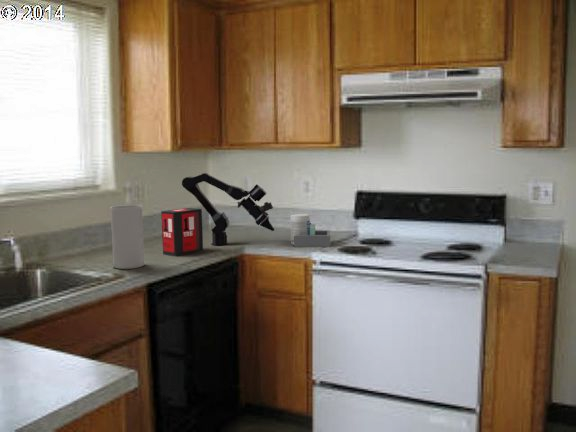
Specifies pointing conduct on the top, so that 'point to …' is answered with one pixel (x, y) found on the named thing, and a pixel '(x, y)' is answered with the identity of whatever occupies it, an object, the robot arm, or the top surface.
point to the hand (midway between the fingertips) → (273, 230)
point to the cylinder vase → (127, 236)
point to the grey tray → (313, 239)
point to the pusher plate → (312, 229)
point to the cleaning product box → (182, 231)
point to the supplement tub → (299, 225)
